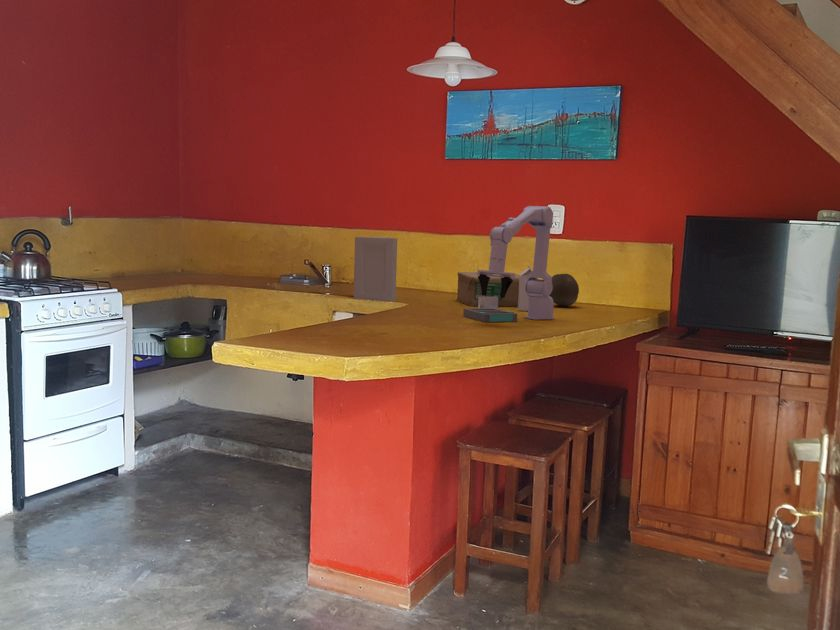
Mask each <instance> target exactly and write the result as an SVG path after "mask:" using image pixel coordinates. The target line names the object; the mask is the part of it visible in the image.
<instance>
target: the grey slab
mask: <svg viewBox="0 0 840 630" xmlns="http://www.w3.org/2000/svg"><path fill="white" fill-rule="evenodd" d="M478 308H496V309H499V307H498V297H496V296H494V297H479V300H478Z"/></svg>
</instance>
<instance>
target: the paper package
mask: <svg viewBox="0 0 840 630" xmlns="http://www.w3.org/2000/svg"><path fill="white" fill-rule="evenodd" d="M505 272H506V271H505ZM506 273H510V272H506ZM514 274H515V279H512V280H513V282H512V283H511V285H510V286H509V288H508V290H507V292H506V295H505V298H501V297H500V294H501V278H502V277H492V276H487V277H490V279H489V282H488V286H487V293H486V296H483V295H482V291H481V285H480V282H479V279H478V276H480V275H477V271H457V290H456V291H457V294H456V295H457V296H456V301H457V302H459V303H461V304H463V303H464V305H466V306H467V307H468V306H469V307H470V308H473V307H474V308H475V307H476V308H477V307H478V300H479V297H494V296H496V297H498V308H499V307H500V308H501V307H502V308H504V307H518V296H519V275H520V274H518V273H514ZM489 275H490V274H489ZM492 275H496V276H501V275H499V274H492Z"/></svg>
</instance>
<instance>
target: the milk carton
mask: <svg viewBox="0 0 840 630" xmlns="http://www.w3.org/2000/svg"><path fill="white" fill-rule="evenodd" d="M532 271H533V268H532V269H531V266H530V265H527V268H526V269H525V270H523V271H522V272H521V273H519V274H518V275H519V296H518V306H517V310H518V311H519V312H520V311H521V312H528V304H529V296H528V295H527V293H526V291H525V282H526V280H527V275H528V274H529V273H531V272H532ZM536 279H539V278H536Z"/></svg>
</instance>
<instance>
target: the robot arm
mask: <svg viewBox="0 0 840 630" xmlns="http://www.w3.org/2000/svg"><path fill="white" fill-rule="evenodd" d="M553 221H554V211H553V210H552V208H551V207H550V206H548V205H546V206H542V205H541V206H537V205H534V206H533V205H527V206H526V207H524V208H523V211H522V212H521V213H520V214H519V215H518V216H517V217H508V219H507V220H506V221H505V222H504V223H501V224H500V225H499V226H495V227H492V229H491V230H490V232H489V239H490V247H491V248H490V250H491V251H490V256H489V265H488V270H487V269H485V270H484V269H477V271H476V272H477V275H480V276H478V279H479V282H480V285H481V291H482V295H483V296H486V293H487V286H488V282H489V279H490V277H487V276H492V277H502V278H501V294H500V297H501V298H505V295H506V292H507V290H508V288H509V286H510V285H511V283H512V282H513V280H512V279H515V274H516V273H513V272H509V273H506V271H505V269H506V260H507V253H508V245H509V243H511V242H512V240H513V237H514V236H515V235H516V234H517V233H519V232H520V231H521V230H522V226H524V225H526V224H527V223H528V224H529V225H530V227H532V228H534V229H535V231H536V235H535V244H534V246H535V247H534V253H533V254H534V256H533V265H532V269H533V271H532V272H531V273H529V274H528V275H527V280H526V282H525V291H526V293H527V295H528V296H529V304H528V311H527V315H524V316H523V318H525V319H530V320H537V321H538V320H554V319H555V318H554V304H555V303H554V302H553V299H552V297H550V296H549V295H550V294H551V292H552V289H553V285H552V277H553V276H551V275H550V274H549V273H548V272H547V268H548V259H549V247H550V236H551V229H552V228H553ZM489 274H490V275H489ZM492 274H499V275H501V276H496V275H492ZM536 278H538V279H536Z"/></svg>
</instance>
